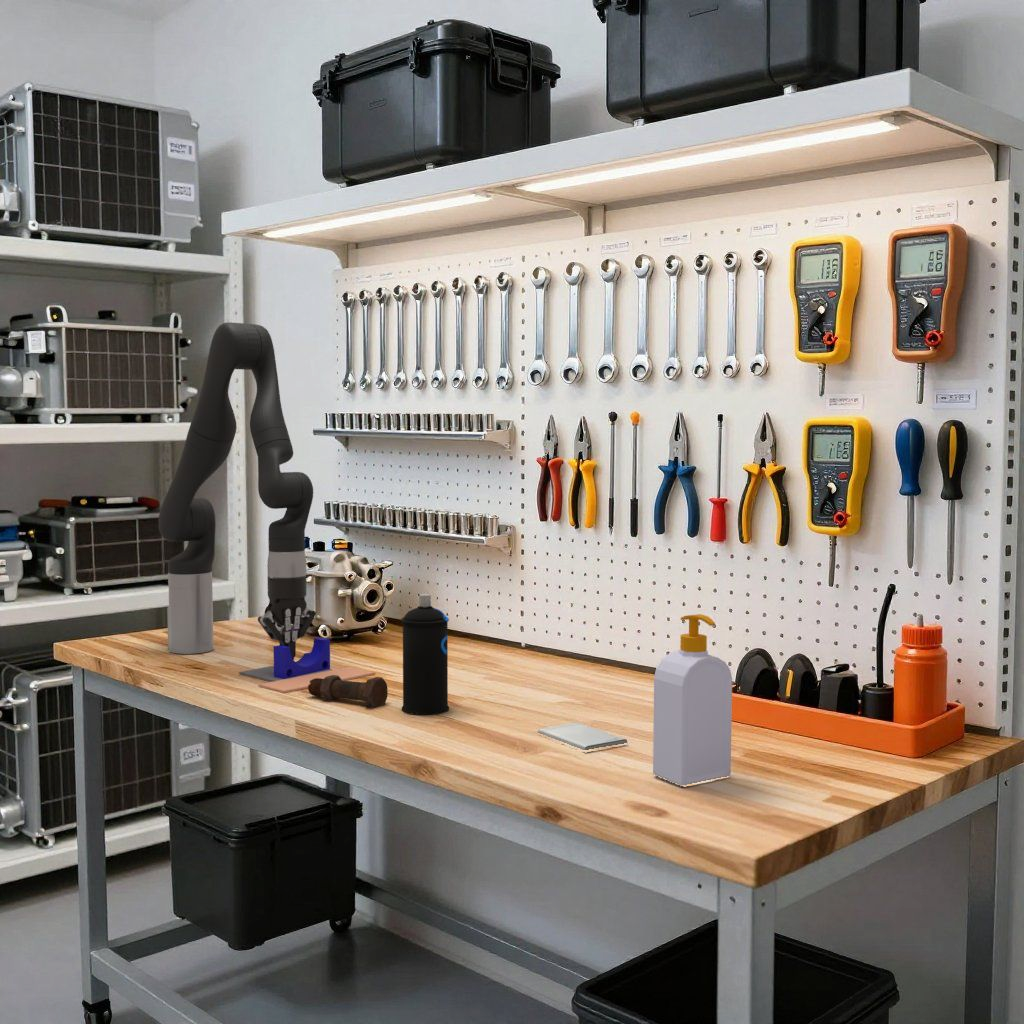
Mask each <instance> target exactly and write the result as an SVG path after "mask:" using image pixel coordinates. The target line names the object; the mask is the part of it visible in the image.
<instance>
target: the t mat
mask: <svg viewBox="0 0 1024 1024" xmlns="http://www.w3.org/2000/svg"><path fill="white" fill-rule="evenodd" d="M238 674H239V675H242V676H246V677H250V678H254V679H258V680H262V681H267V682H263V683H259V684H258V687H259V688H263V689H267V690H271V691H275V692H278V693H283V694H287V693H291V692H296V691H302V690H306V689H308V685H309V684H310V683H309V682H310V680H313V679H315V678H321V679H324V678H325V677H327V676H331V675H338V676H339V677H340V678H341V680H342V681H351V680H354V679H358V678H364V677H370V676H374V675H375V676H376V672H374V671H370V670H365V669H361V668H357V667H352V666H347V667H341V668H335V669H333V668H332V669H331V668H330V669H327V670H323V671H318V672H314V673H309V674H305V675H300V676H296V677H291V678H287V679H282V678H277V677H274V665H268V666H264V667H259V668H254V669H253V668H252V669H248V670H243V671H239V672H238Z"/></svg>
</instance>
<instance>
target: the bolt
mask: <svg viewBox="0 0 1024 1024" xmlns="http://www.w3.org/2000/svg"><path fill="white" fill-rule="evenodd" d="M309 683H310V684H309V685H308V688H307V689H308V692H309V694H310V695H312V696H314V697H321V698H322V699H323V700H324V701H327V702H335V701H339V700H340V699H341V700H349V701H350V700H351V701H352V700H353V701H361V702H364V703H365V705H366V707H367V708H371V709H375V708H376V709H377V708H379V707H383V706H384V705H385V703H387V702H386V701H387V699H388V695H389V693H388V691H389V689H388V685H387V684H388V683H387V682H386V680H385V679H384V678H383V677H381V676H376V677H372V678H369V679H366V681H364V682H362V681H361V682H360V681H352V680H346V681H342V680H341V678H340V677H339V676H338V675H331V676H327V677H325V678H324V679H321V678H315V679H313V680H310V682H309Z"/></svg>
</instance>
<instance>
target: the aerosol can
mask: <svg viewBox="0 0 1024 1024" xmlns="http://www.w3.org/2000/svg"><path fill="white" fill-rule="evenodd" d="M431 597H432V595H431V594H429V593H421V594H419V598H418V599H419V600H418V602H419V606H417V607H415V608H412V609H410V610H409V611H408V612H407V613H406V614H405V615H404V617H401V619H400V621H401V623H402V706H401V711H402V712H403V713H406V714H409V715H413V716H414V715H415V716H432V715H433V716H434V715H438V714H439V715H440V714H443V713H447V712H448V711H449V709H450V705H448V704H449V703H448V702H449V701H448V700H449V699H448V690H449V687H448V684H449V683H448V681H449V680H448V678H449V677H448V674H449V673H448V671H449V670H448V669H449V668H448V666H449V665H448V663H449V661H448V658H449V657H448V655H449V654H448V651H449V649H448V639H449V638H448V634H449V633H448V631H449V630H448V629H449V628H448V622H450V621H449V620H450V618H449V617H447V616H446V614H445V613H444V612H443V611H442V610H440V609H438V608H435V607H433V606H432V604H431V603H432V602H431Z"/></svg>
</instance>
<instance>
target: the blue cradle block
mask: <svg viewBox="0 0 1024 1024" xmlns="http://www.w3.org/2000/svg"><path fill="white" fill-rule="evenodd" d="M273 666H274V677H277V678H282V679H287V678H291V677H296V676H300V675H305V674H309V673H314V672H318V671H323V670H327V669H331V639H330V638H324V637H315V638H313V646H312V648H311V651H309V652H305V653H304V654H303V656H301V658H300V659H298V660H297V661H295V659H294V660H293V658H292V656H291V652H290V647H287V646H281V645H280V644H279V645H278V644H277V645H273Z"/></svg>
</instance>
